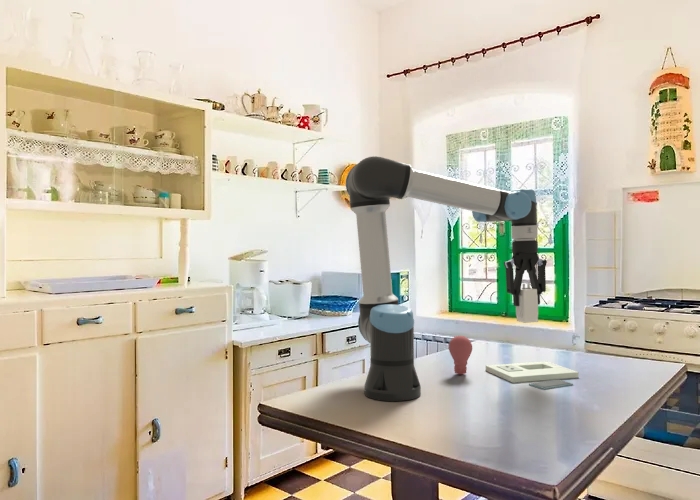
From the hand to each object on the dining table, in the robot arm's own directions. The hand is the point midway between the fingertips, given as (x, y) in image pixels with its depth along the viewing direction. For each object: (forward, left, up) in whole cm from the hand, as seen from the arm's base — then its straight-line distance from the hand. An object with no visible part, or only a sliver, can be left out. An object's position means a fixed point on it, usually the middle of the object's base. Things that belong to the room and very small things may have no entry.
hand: (527, 315), depth 168 cm
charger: (0, 0, -2) cm, 2 cm away
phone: (-1, -13, -19) cm, 23 cm away
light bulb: (-20, +5, -18) cm, 27 cm away
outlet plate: (+1, 0, -18) cm, 18 cm away
